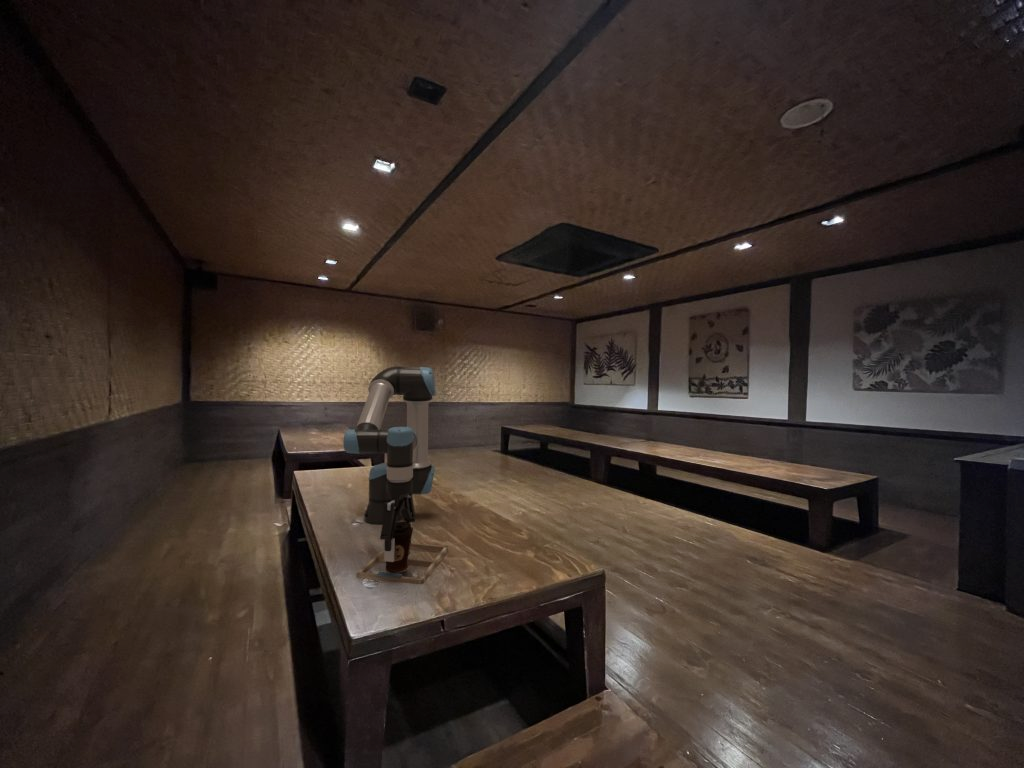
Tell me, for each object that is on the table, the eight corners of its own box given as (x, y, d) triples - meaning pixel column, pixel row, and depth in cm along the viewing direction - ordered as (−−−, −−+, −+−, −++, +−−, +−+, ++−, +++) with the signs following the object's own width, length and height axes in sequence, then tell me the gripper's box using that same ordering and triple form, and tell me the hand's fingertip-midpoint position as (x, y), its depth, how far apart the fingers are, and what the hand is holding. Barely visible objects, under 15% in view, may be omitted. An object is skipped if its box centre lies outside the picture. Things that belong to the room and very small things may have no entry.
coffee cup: (402, 577, 111) (403, 531, 111) (376, 574, 113) (377, 528, 113) (416, 564, 120) (417, 521, 120) (391, 561, 121) (392, 518, 121)
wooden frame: (392, 547, 136) (392, 539, 136) (447, 552, 133) (448, 544, 133) (355, 580, 113) (355, 571, 113) (421, 587, 110) (422, 578, 110)
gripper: (404, 469, 130) (403, 535, 130) (367, 489, 107) (366, 569, 107) (426, 470, 129) (425, 536, 129) (393, 491, 105) (392, 572, 106)
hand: (398, 551), depth 118 cm, fingers open, 11 cm apart
